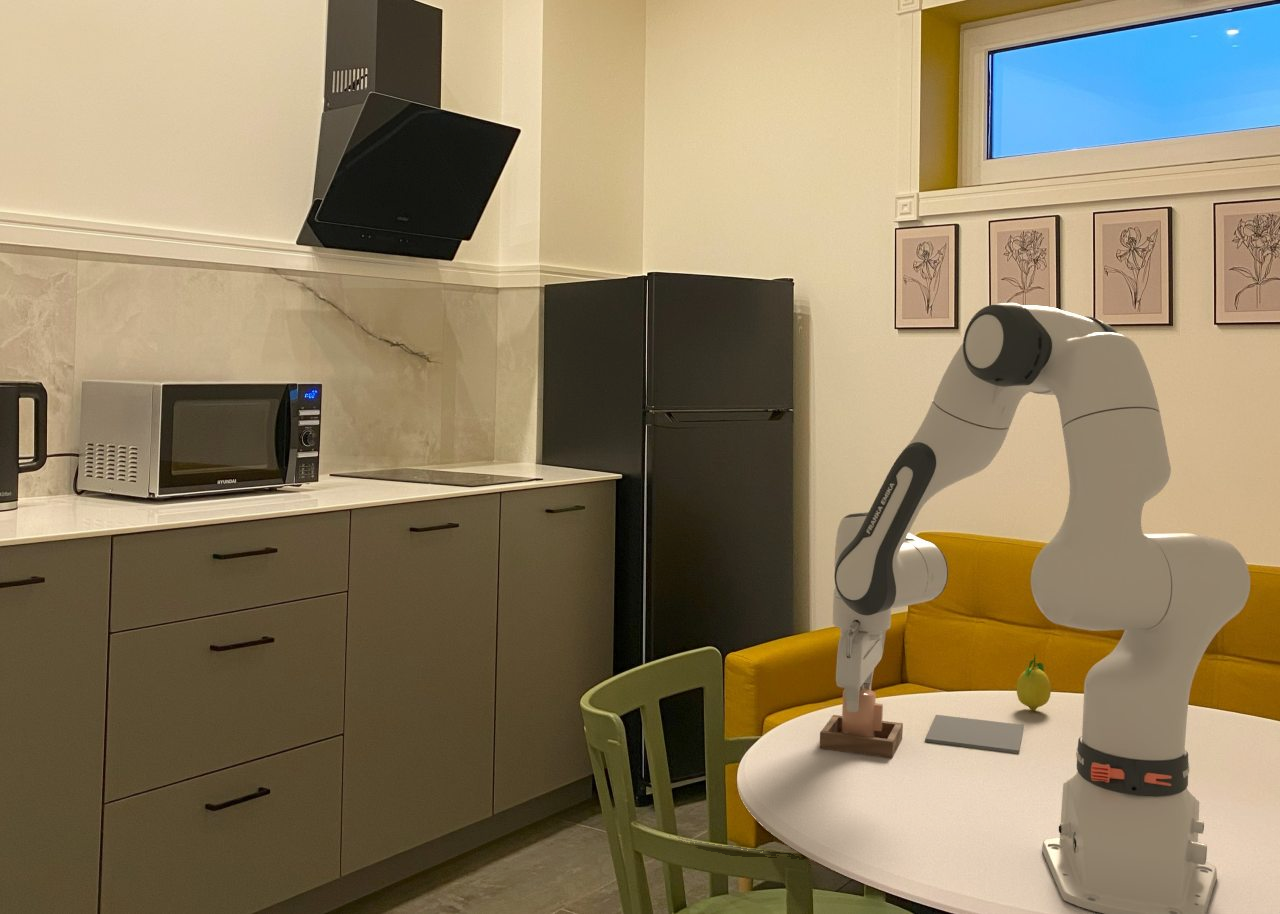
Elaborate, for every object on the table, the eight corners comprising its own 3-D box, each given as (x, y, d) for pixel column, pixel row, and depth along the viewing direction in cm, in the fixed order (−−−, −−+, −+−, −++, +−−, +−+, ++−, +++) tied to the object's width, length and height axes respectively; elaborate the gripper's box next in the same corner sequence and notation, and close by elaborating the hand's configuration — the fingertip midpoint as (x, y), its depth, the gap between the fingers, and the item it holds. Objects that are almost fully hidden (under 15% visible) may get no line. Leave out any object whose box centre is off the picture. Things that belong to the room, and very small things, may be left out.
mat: (1018, 753, 173) (1019, 750, 173) (924, 741, 178) (925, 738, 178) (1023, 727, 186) (1023, 724, 186) (935, 717, 191) (935, 714, 191)
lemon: (1025, 717, 193) (1027, 658, 192) (1006, 707, 198) (1008, 650, 198) (1060, 714, 194) (1062, 656, 194) (1040, 705, 200) (1042, 648, 199)
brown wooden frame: (892, 758, 170) (892, 741, 170) (819, 748, 174) (820, 732, 174) (902, 738, 180) (902, 723, 180) (833, 730, 184) (833, 714, 183)
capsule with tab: (878, 751, 174) (879, 699, 173) (838, 745, 176) (839, 694, 175) (883, 741, 178) (885, 691, 178) (844, 736, 180) (846, 686, 180)
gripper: (870, 630, 165) (866, 724, 166) (892, 604, 184) (889, 688, 185) (827, 626, 168) (824, 718, 169) (854, 600, 187) (851, 683, 188)
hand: (858, 702), depth 177 cm, fingers open, 8 cm apart
